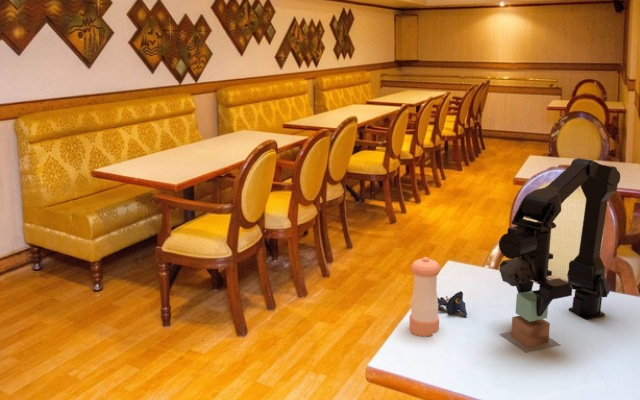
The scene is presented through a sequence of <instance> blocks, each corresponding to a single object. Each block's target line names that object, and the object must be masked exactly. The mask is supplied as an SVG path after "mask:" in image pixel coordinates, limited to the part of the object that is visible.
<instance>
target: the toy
mask: <svg viewBox="0 0 640 400" xmlns="http://www.w3.org/2000/svg"><path fill="white" fill-rule="evenodd" d="M437 299H438V308H439V307H443V306H445V307H446V308H445V309H446V314H448V315H449V316H450V315H454V314H456V313H458V312H461V313H462V314H463V316H464V318H467V316H468V313H467V309H466V302H465V301H464V300H463V299H464V292H463V291H462V290H461V291H458V292H456V293H454V294H453V296H450V297H448V296H447V295H445V298H444V296H443V297H440V298H439V296H437Z"/></svg>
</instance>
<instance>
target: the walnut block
mask: <svg viewBox="0 0 640 400" xmlns="http://www.w3.org/2000/svg"><path fill="white" fill-rule="evenodd" d="M550 327H551V323H550V322H549V321H548V320H545V319H540V320H536V321H531V322H529V321H527V320H526V319H524V318H523V317H521V316H519V315H516V316H512V317H511V329H510V330H511V331H510V332H511V336H512V337H513V338H514V339H516V340H517V341H519V342H520V343H522V344H523V345H525V346H526V347H531V346H536V345H540V344H544V343H548V340H549V338H550Z"/></svg>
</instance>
